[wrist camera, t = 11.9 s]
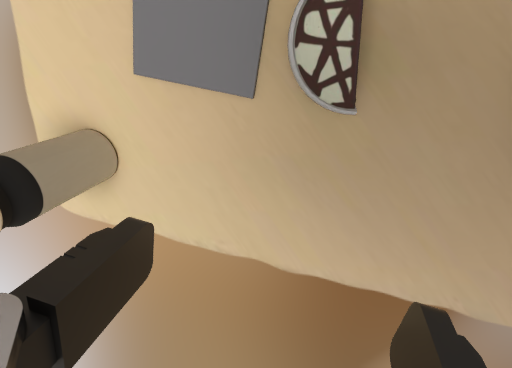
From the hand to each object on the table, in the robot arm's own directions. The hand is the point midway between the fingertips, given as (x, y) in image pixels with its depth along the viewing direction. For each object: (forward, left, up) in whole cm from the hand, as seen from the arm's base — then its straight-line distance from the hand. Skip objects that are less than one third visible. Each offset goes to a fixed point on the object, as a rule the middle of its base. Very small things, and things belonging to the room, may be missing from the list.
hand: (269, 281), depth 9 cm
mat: (+16, -8, -30) cm, 35 cm away
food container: (+1, -7, -30) cm, 31 cm away
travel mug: (+31, +13, -30) cm, 45 cm away
